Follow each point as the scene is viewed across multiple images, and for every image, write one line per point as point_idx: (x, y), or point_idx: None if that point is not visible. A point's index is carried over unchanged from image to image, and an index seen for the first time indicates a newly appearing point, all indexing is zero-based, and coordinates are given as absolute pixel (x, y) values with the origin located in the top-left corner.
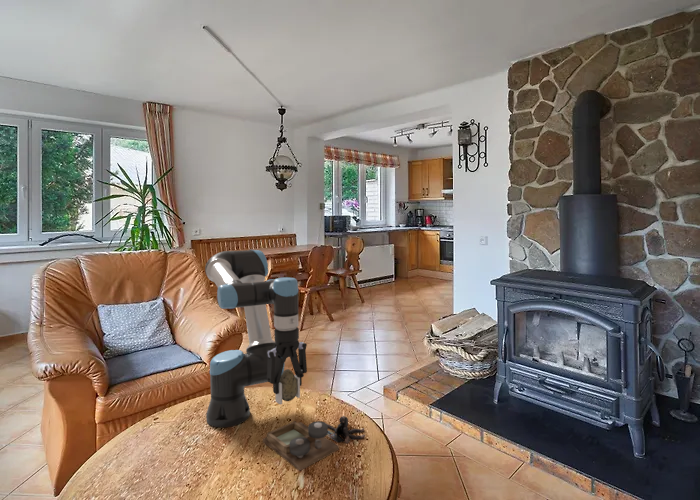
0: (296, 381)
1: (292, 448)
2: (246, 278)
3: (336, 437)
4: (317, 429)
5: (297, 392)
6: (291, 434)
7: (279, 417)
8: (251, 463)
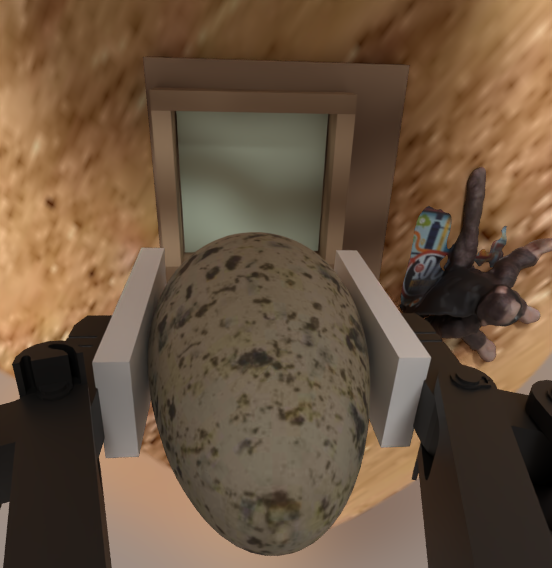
0: (370, 387)
1: None
2: None
3: (411, 302)
4: None
5: None
6: (284, 148)
7: None
8: (20, 184)
